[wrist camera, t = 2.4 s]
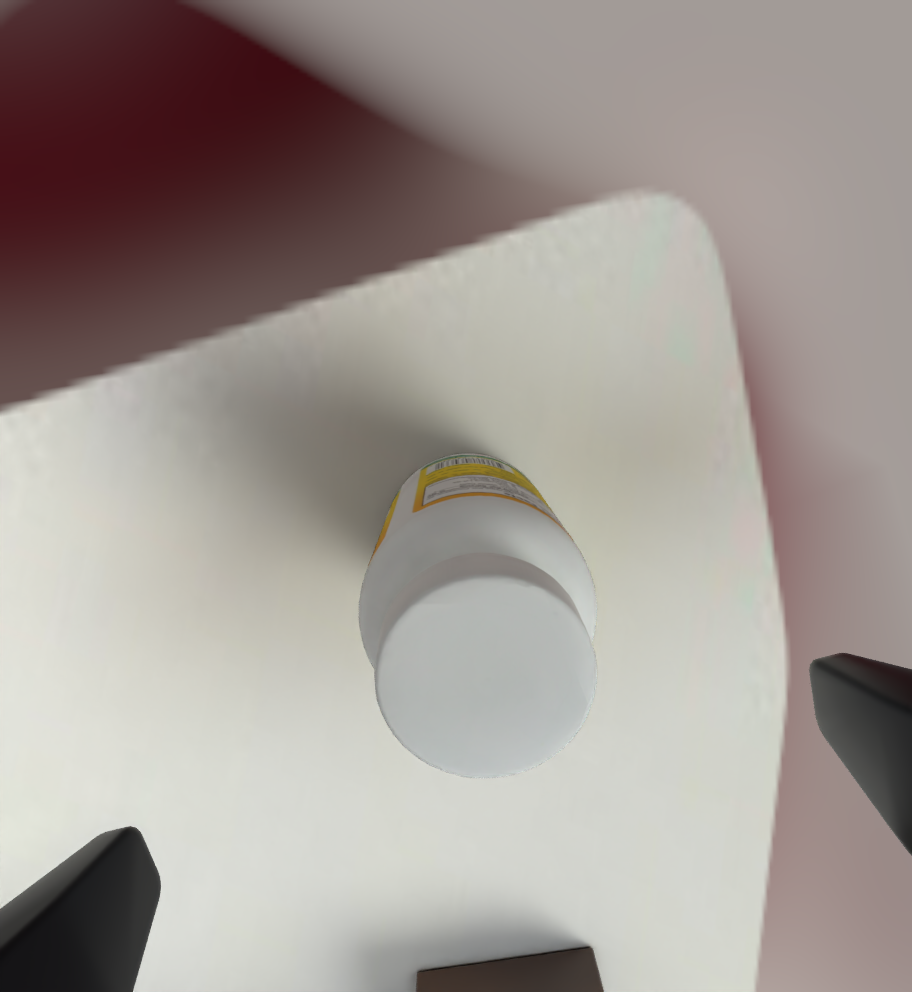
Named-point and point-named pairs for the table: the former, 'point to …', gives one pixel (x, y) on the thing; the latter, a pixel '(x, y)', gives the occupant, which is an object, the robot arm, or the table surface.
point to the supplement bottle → (479, 620)
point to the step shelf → (519, 975)
